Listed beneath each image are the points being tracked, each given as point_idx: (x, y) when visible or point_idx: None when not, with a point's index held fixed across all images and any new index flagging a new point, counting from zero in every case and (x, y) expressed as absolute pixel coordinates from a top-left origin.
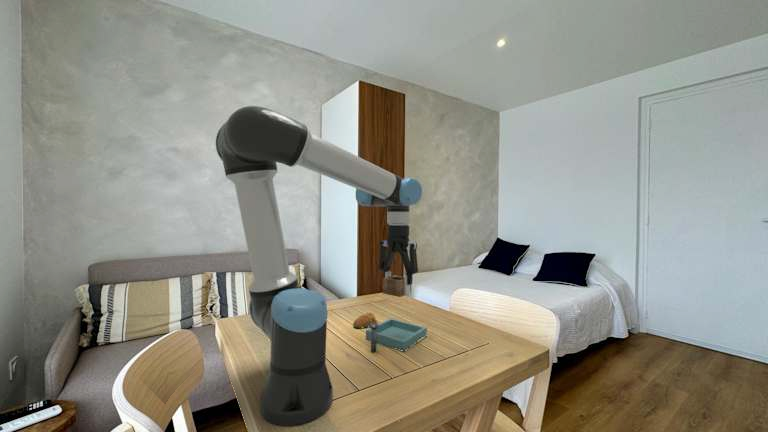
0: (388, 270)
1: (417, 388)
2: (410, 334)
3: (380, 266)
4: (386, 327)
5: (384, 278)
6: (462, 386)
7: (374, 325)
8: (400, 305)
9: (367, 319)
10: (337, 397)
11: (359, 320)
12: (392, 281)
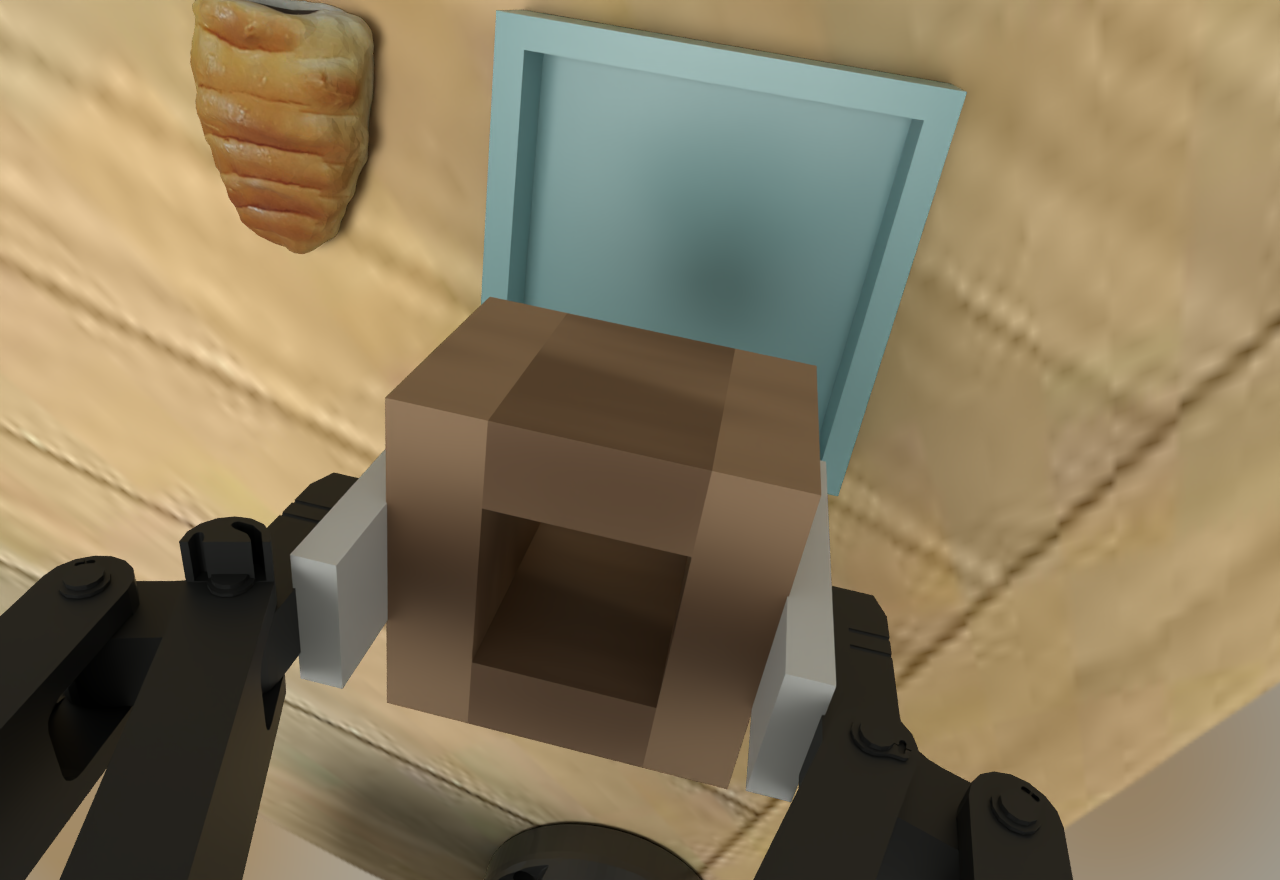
0: (287, 607)
1: (1006, 751)
2: (796, 165)
3: (113, 721)
4: (533, 144)
5: (402, 692)
6: (1255, 682)
7: None
8: None
9: (317, 159)
10: (707, 860)
11: (274, 212)
12: (577, 732)
